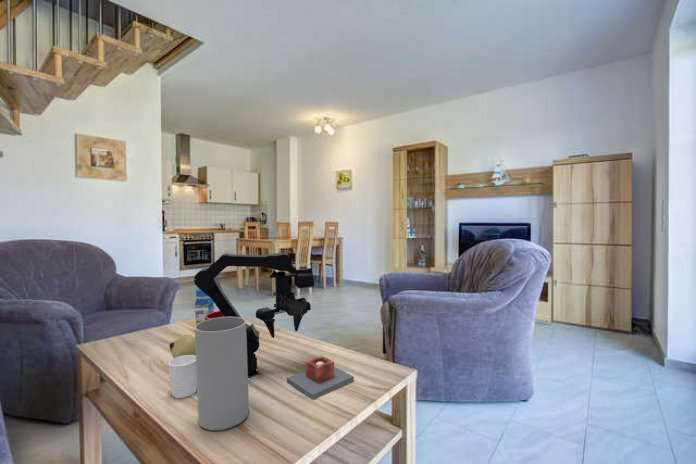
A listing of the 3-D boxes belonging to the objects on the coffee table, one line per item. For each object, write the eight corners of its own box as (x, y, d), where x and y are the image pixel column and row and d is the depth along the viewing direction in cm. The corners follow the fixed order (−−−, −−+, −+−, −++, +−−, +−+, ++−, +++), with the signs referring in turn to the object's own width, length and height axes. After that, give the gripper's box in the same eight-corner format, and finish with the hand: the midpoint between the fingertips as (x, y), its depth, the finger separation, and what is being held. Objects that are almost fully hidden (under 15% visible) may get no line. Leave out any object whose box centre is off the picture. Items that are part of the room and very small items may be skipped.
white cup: (179, 402, 97) (178, 368, 97) (164, 395, 101) (162, 362, 101) (204, 390, 104) (202, 358, 104) (188, 383, 108) (187, 353, 108)
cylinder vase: (198, 437, 81) (194, 335, 80) (198, 410, 93) (195, 320, 92) (252, 424, 86) (248, 327, 85) (245, 400, 98) (243, 314, 97)
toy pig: (190, 354, 131) (189, 327, 131) (208, 361, 125) (207, 333, 124) (164, 364, 123) (163, 335, 123) (183, 372, 116) (181, 341, 116)
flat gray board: (312, 399, 97) (312, 379, 97) (286, 382, 108) (286, 363, 108) (353, 381, 108) (353, 362, 108) (326, 366, 118) (326, 350, 118)
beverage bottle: (218, 331, 158) (216, 288, 158) (200, 335, 152) (198, 291, 151) (210, 327, 164) (208, 286, 163) (192, 331, 158) (190, 289, 157)
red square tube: (318, 384, 103) (317, 367, 103) (306, 376, 108) (305, 361, 108) (334, 377, 108) (334, 361, 107) (322, 370, 112) (321, 355, 112)
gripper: (270, 298, 104) (272, 348, 105) (319, 288, 117) (320, 333, 117) (254, 292, 113) (255, 338, 114) (301, 284, 125) (302, 326, 126)
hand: (284, 334), depth 117 cm, fingers open, 9 cm apart
